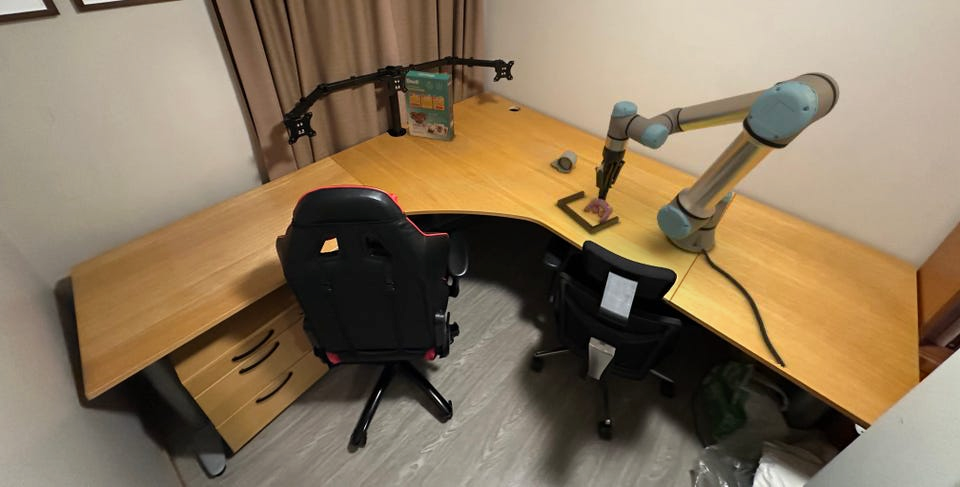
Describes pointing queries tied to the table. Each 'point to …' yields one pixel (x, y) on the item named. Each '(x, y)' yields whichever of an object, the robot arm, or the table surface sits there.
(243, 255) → the table surface
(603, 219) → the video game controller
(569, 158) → the ceramic mug
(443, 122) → the cake mix box
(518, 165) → the table surface
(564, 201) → the holder
